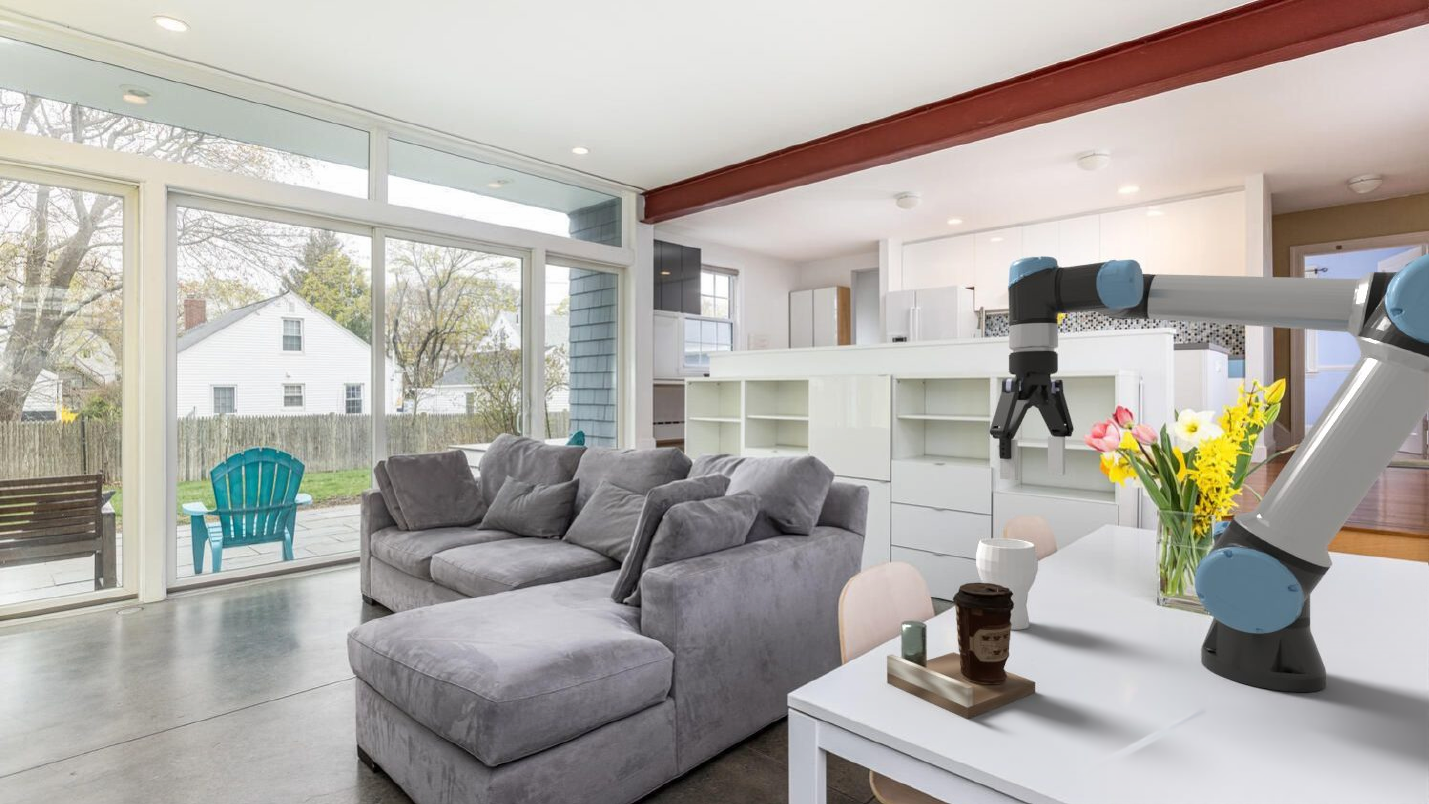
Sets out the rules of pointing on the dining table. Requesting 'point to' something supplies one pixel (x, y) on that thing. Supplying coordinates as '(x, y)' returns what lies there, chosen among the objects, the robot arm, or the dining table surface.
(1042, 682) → the dining table surface
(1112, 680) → the dining table surface
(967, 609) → the coffee cup
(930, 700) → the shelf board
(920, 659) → the green cylinder
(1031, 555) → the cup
